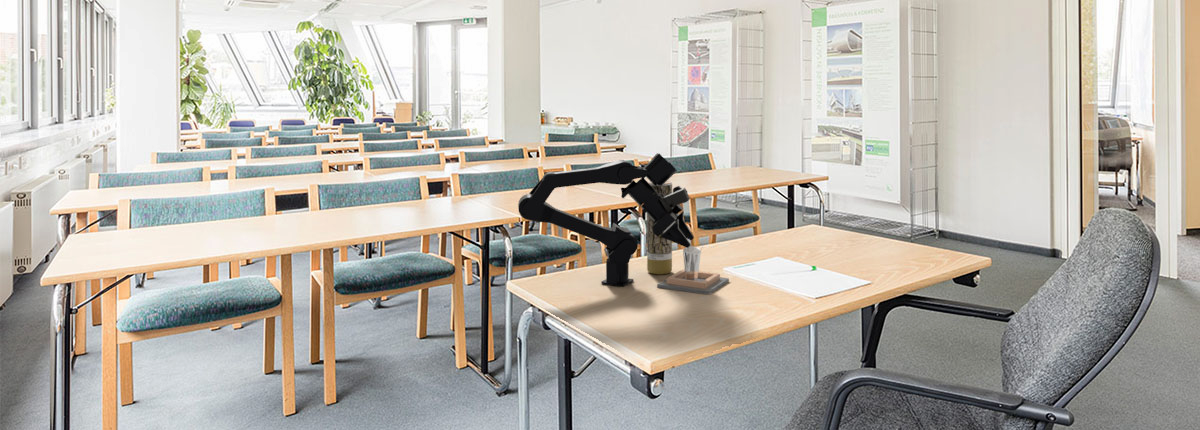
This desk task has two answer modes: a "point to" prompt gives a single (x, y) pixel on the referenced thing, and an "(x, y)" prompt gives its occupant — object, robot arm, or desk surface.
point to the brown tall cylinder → (658, 241)
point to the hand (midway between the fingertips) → (691, 242)
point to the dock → (694, 282)
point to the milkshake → (691, 262)
